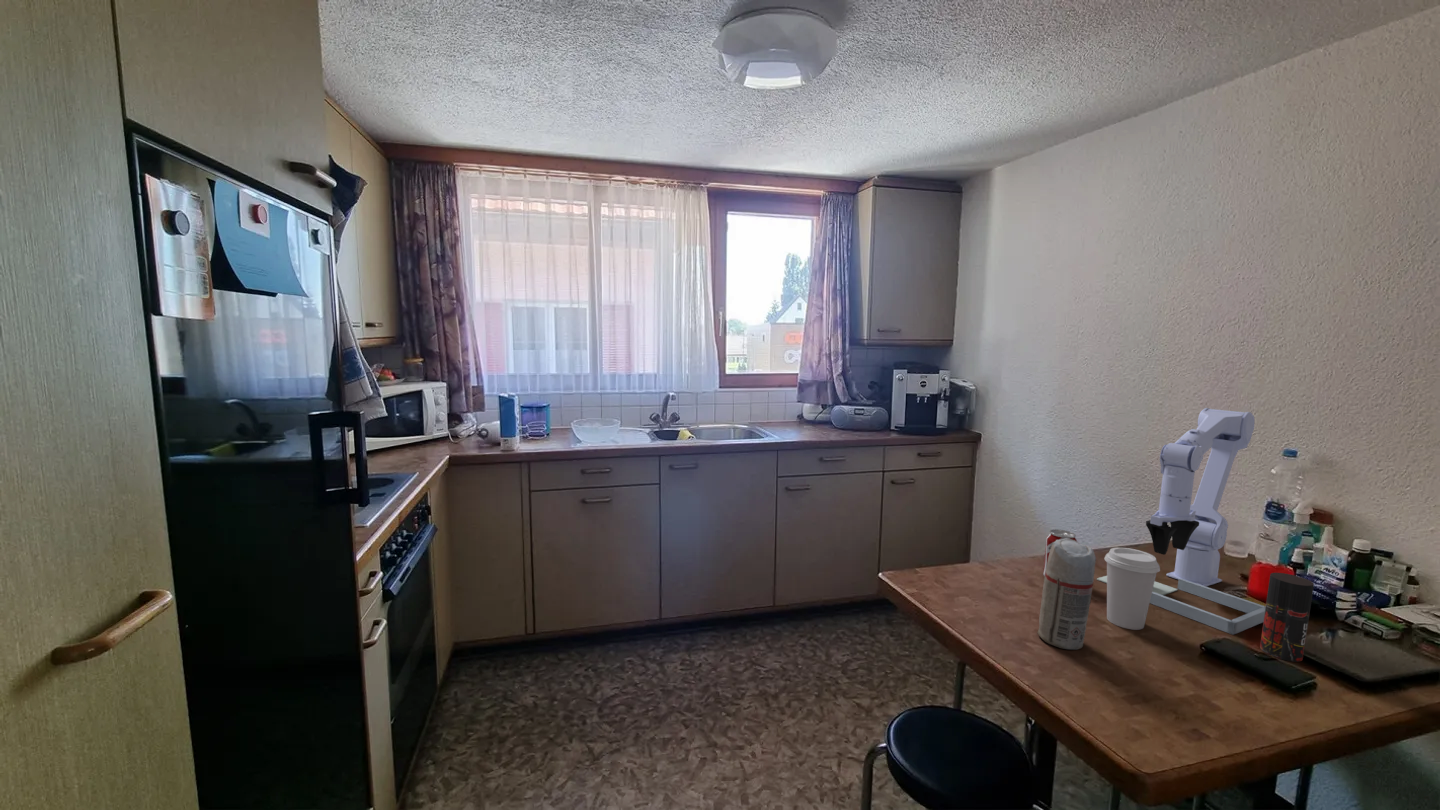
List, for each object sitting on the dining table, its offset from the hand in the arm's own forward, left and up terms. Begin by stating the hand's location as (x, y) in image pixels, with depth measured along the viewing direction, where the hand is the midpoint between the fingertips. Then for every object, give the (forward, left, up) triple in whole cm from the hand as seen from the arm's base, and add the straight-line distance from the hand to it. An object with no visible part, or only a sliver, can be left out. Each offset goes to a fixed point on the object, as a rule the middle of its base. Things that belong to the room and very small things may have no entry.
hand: (1169, 550), depth 136 cm
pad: (+2, -5, -10) cm, 12 cm away
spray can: (+45, +4, -11) cm, 46 cm away
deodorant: (+10, +25, -11) cm, 28 cm away
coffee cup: (+25, +5, -11) cm, 27 cm away
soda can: (+17, -15, -11) cm, 25 cm away
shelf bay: (+2, +9, -10) cm, 14 cm away
